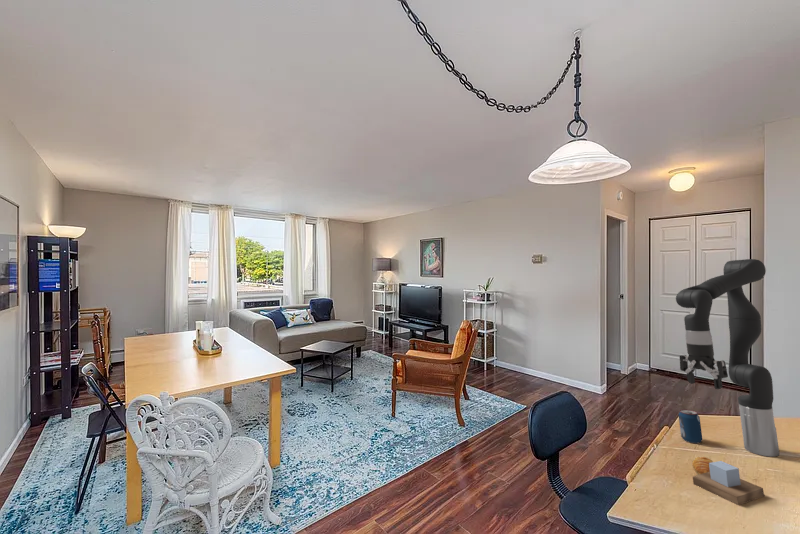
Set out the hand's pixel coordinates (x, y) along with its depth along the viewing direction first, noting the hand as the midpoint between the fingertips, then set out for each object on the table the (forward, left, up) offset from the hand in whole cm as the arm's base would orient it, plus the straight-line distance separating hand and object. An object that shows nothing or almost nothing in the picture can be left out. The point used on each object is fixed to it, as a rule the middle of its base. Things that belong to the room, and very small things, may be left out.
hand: (704, 386), depth 126 cm
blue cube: (+14, +12, -26) cm, 32 cm away
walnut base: (+14, +12, -29) cm, 34 cm away
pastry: (+8, +2, -29) cm, 30 cm away
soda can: (-13, -16, -28) cm, 35 cm away
